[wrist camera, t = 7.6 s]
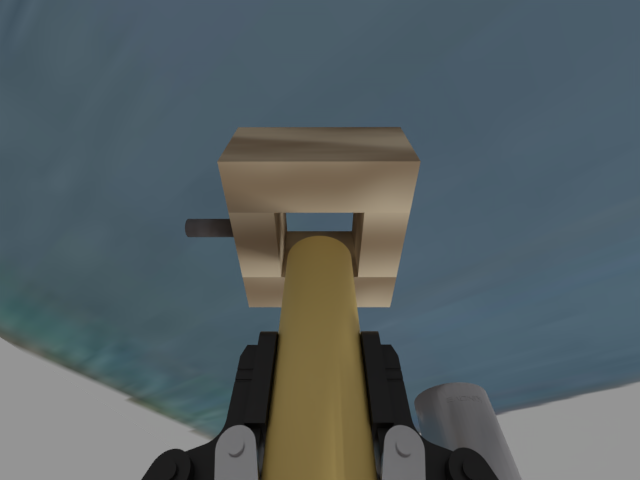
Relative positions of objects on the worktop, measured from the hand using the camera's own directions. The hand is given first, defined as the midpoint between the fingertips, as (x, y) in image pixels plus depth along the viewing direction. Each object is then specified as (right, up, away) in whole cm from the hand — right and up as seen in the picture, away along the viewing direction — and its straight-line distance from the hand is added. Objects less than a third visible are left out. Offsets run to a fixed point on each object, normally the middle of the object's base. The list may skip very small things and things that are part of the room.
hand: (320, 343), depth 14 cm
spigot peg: (0, +3, +4) cm, 5 cm away
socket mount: (-2, +7, +9) cm, 12 cm away
